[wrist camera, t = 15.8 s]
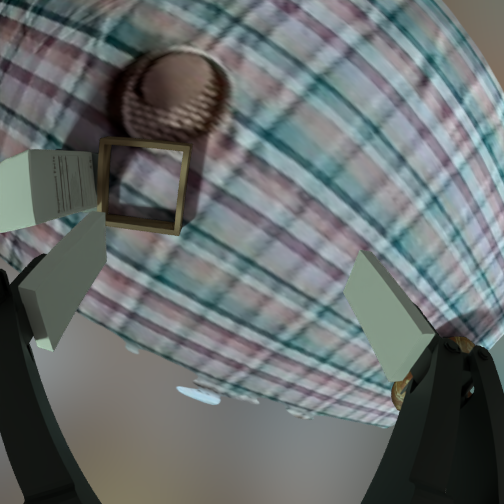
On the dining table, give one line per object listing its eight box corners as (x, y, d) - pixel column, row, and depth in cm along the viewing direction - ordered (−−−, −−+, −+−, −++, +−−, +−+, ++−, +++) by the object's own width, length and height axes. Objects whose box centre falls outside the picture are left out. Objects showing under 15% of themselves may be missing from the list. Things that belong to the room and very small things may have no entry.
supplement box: (57, 215, 40) (-6, 235, 26) (51, 163, 38) (-14, 167, 23) (99, 208, 40) (36, 227, 25) (93, 150, 37) (28, 147, 23)
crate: (107, 136, 38) (99, 138, 35) (192, 143, 40) (190, 146, 37) (104, 217, 44) (97, 224, 41) (181, 228, 46) (178, 236, 43)
